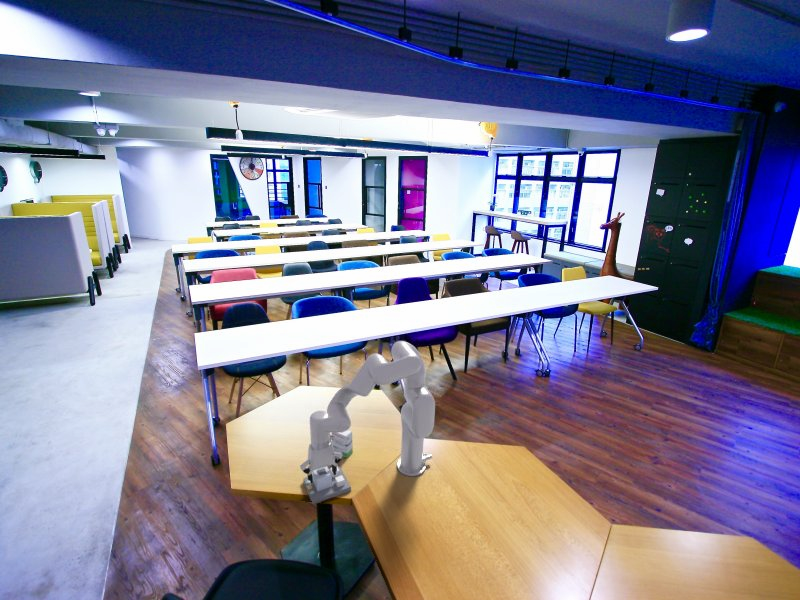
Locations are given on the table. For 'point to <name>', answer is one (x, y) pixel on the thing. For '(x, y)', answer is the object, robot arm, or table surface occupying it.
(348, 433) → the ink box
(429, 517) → the table surface
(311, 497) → the breaker panel
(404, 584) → the table surface
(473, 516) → the table surface
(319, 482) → the cap
